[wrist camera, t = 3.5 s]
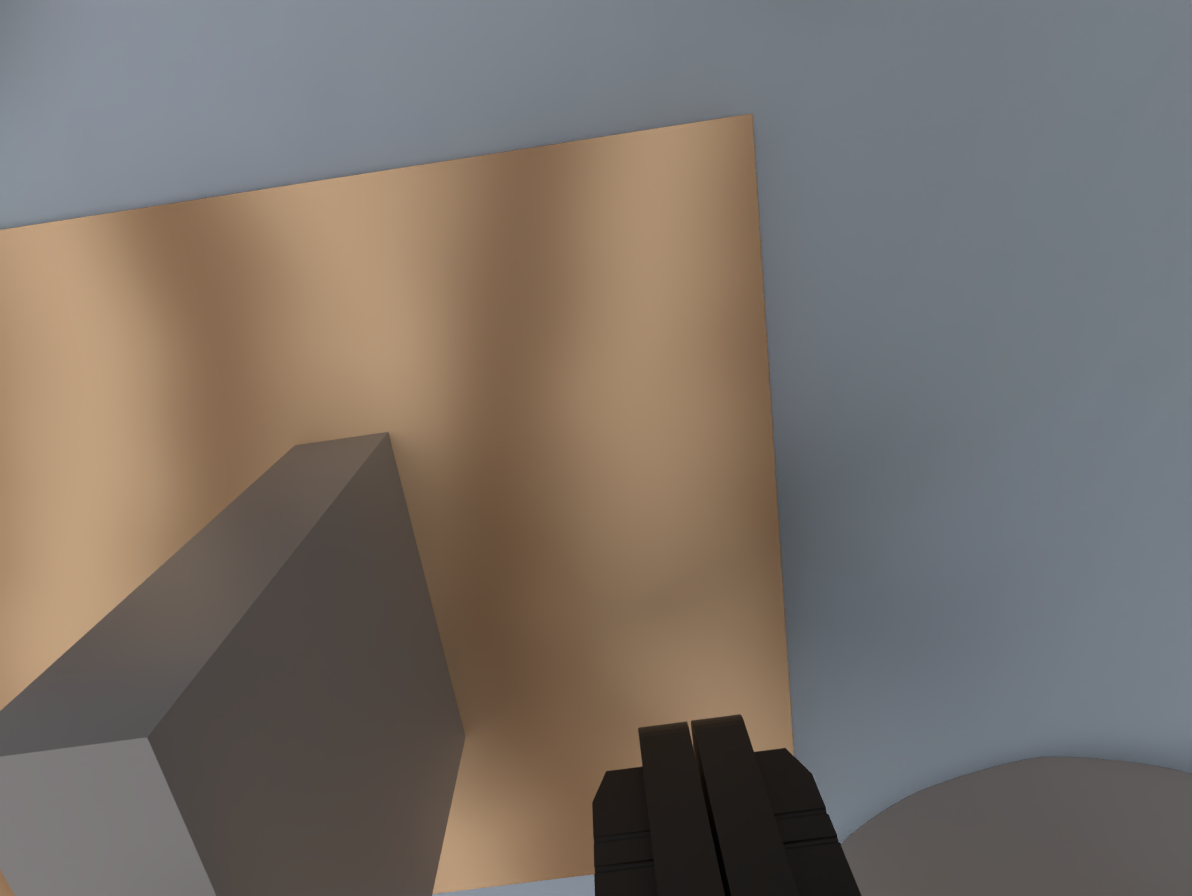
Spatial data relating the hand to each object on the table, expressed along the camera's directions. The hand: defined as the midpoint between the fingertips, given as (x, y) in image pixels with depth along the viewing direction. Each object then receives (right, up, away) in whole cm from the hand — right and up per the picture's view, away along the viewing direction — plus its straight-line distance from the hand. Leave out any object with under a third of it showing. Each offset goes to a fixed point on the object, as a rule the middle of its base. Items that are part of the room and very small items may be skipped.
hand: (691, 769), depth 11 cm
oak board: (-9, +1, +7) cm, 12 cm away
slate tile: (-6, +1, +6) cm, 9 cm away
